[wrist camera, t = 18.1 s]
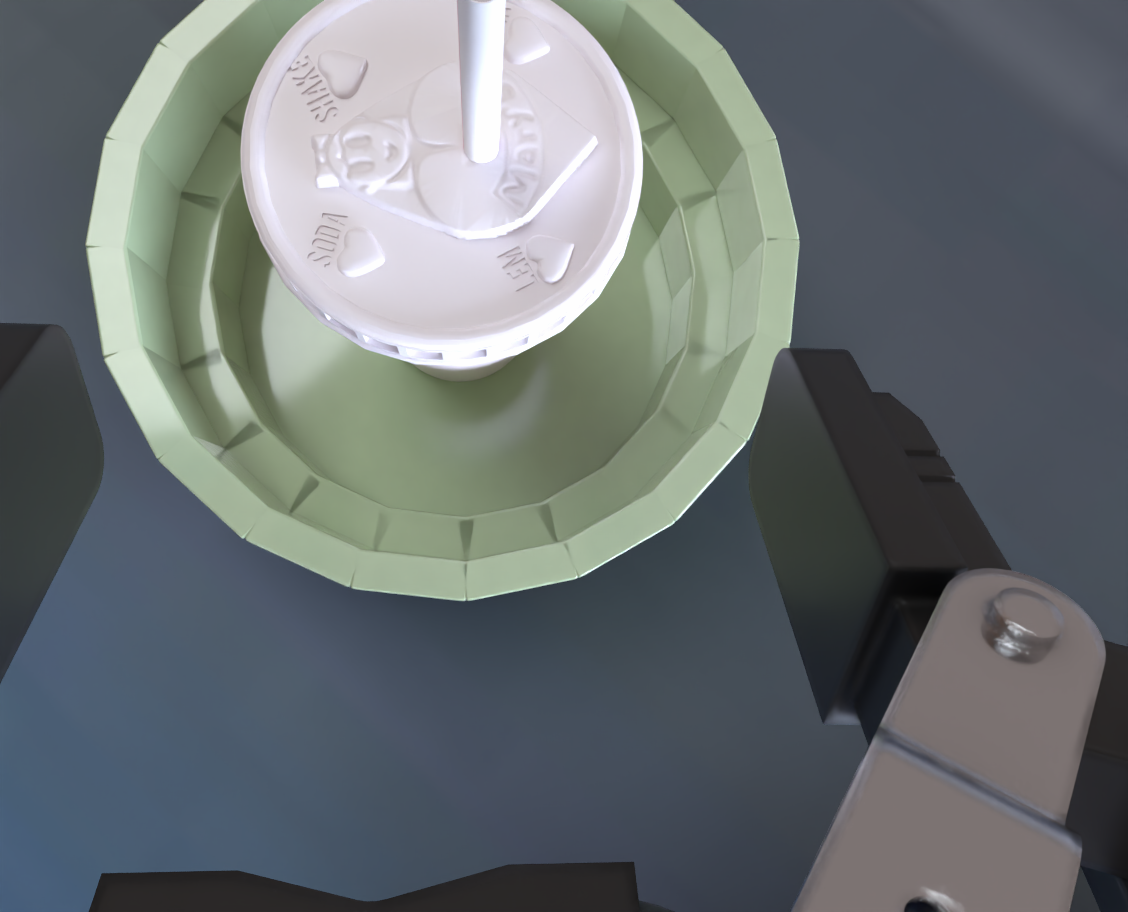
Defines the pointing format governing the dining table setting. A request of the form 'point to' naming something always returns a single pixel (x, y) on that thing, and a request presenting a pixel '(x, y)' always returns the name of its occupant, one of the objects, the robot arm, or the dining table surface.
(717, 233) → the bowl
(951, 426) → the dining table surface
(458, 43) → the smoothie
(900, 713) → the robot arm
